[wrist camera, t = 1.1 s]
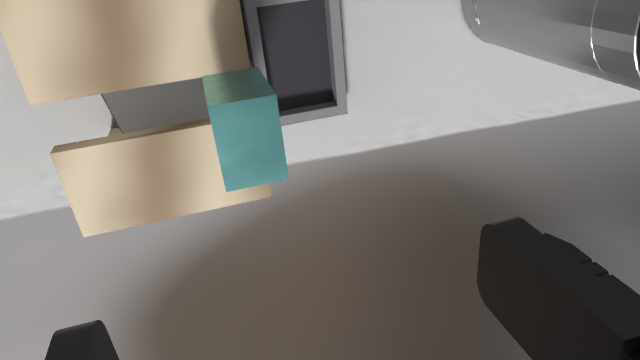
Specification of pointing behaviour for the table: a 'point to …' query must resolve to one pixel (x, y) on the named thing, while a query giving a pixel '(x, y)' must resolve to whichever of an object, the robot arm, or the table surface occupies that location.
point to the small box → (158, 105)
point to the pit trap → (299, 55)
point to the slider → (245, 128)
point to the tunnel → (122, 74)
